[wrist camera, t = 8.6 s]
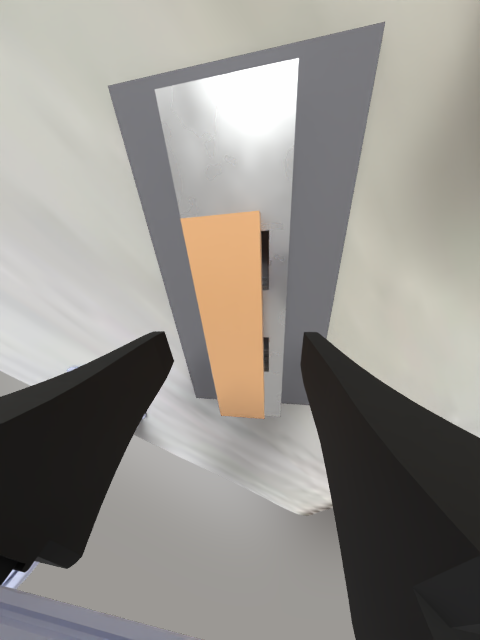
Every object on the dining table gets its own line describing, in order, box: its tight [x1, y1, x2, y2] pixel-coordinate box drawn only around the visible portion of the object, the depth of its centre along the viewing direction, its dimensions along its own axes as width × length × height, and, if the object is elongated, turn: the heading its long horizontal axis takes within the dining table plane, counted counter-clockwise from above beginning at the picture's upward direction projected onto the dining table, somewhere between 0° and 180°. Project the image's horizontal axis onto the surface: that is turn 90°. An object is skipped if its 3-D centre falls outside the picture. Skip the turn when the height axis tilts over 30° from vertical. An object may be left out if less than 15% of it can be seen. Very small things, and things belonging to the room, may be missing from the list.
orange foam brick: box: [181, 211, 265, 419], centre depth 12 cm, size 12×3×6 cm, turn 5°
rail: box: [155, 58, 299, 417], centre depth 14 cm, size 22×6×3 cm, turn 5°
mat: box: [108, 22, 385, 405], centre depth 15 cm, size 26×14×1 cm, turn 5°
